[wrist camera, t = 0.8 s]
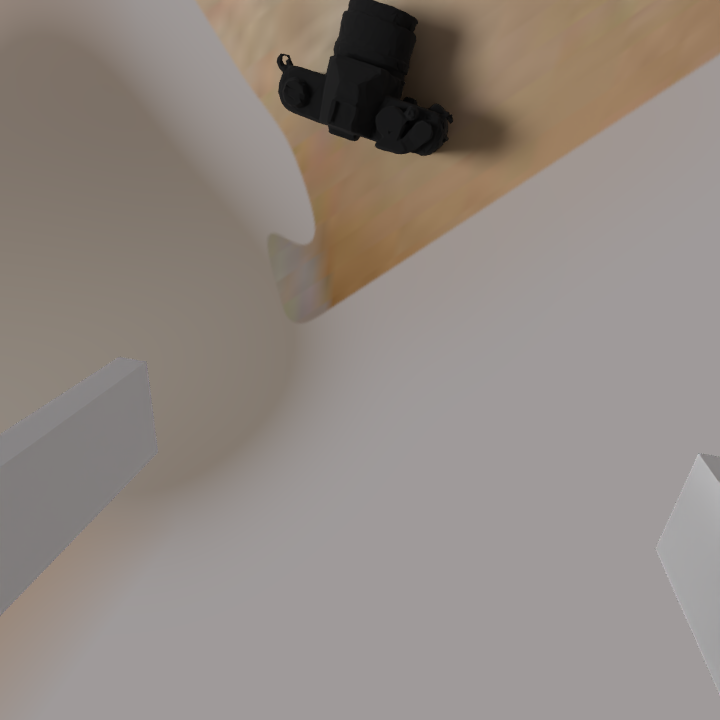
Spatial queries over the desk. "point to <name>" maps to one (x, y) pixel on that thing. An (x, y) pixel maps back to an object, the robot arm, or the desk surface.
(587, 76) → the desk surface
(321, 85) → the film camera
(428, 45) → the desk surface
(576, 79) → the desk surface
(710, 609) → the robot arm
